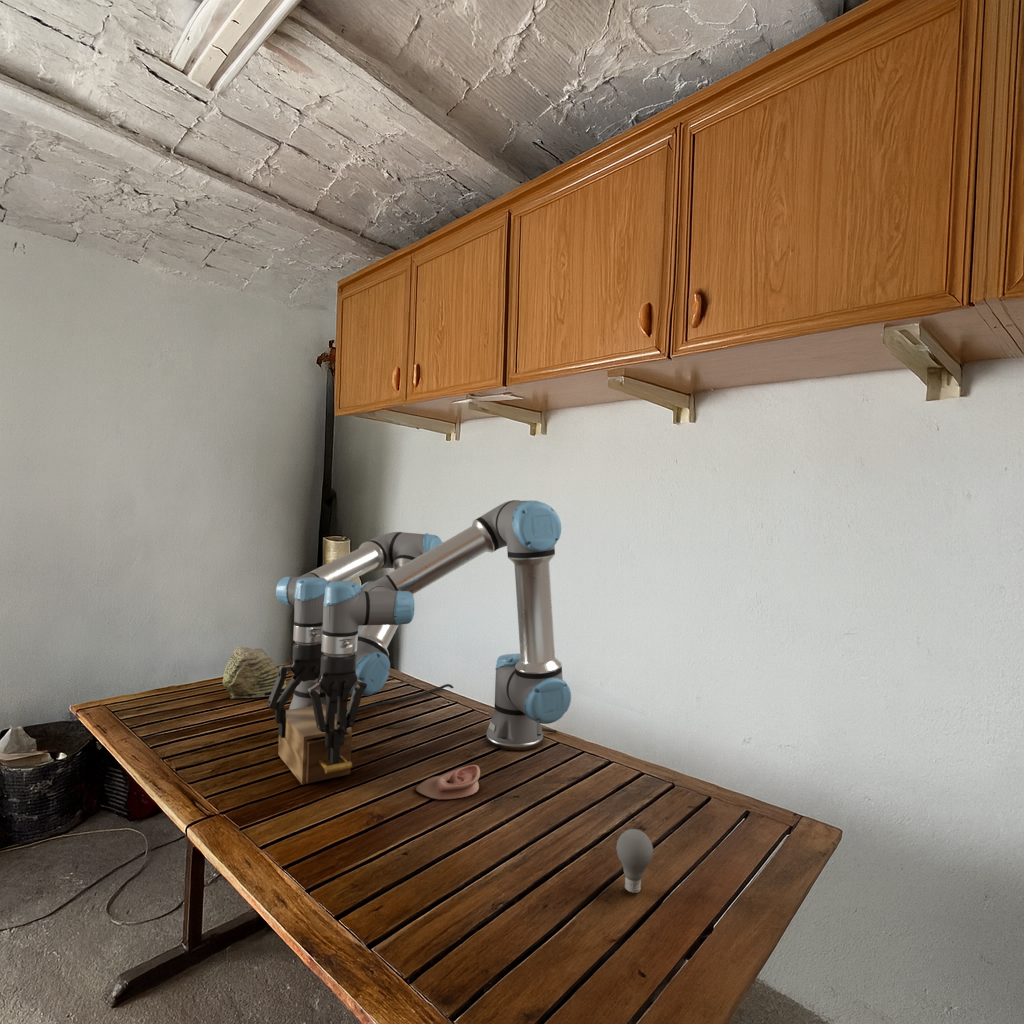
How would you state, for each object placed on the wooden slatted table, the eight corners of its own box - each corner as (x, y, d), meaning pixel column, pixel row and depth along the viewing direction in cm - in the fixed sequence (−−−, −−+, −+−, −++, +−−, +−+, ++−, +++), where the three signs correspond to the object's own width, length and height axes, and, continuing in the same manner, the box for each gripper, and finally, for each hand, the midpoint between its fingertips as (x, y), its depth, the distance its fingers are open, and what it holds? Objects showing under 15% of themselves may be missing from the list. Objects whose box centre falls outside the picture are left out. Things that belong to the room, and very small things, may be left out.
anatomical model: (411, 777, 135) (429, 756, 147) (410, 795, 136) (428, 773, 147) (471, 785, 133) (484, 763, 144) (470, 804, 133) (483, 781, 144)
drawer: (360, 783, 139) (361, 743, 138) (316, 794, 133) (317, 752, 133) (324, 747, 158) (325, 711, 157) (284, 754, 152) (285, 718, 152)
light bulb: (610, 879, 108) (613, 822, 108) (644, 879, 109) (647, 822, 109) (619, 902, 102) (622, 840, 102) (655, 901, 103) (658, 840, 103)
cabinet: (349, 774, 145) (351, 728, 145) (302, 785, 139) (303, 736, 139) (322, 746, 160) (323, 704, 160) (278, 754, 154) (279, 711, 154)
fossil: (218, 695, 195) (220, 647, 195) (278, 685, 208) (279, 640, 207) (228, 703, 189) (230, 653, 188) (289, 692, 201) (290, 645, 201)
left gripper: (263, 650, 144) (260, 746, 144) (361, 640, 157) (357, 728, 158) (255, 643, 150) (251, 735, 150) (350, 634, 164) (346, 718, 164)
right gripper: (315, 660, 131) (309, 773, 131) (374, 654, 138) (368, 761, 138) (303, 652, 137) (298, 760, 137) (361, 646, 144) (355, 749, 145)
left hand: (306, 731), depth 154 cm, fingers closed on cabinet, 11 cm apart
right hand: (333, 760), depth 138 cm, fingers closed
